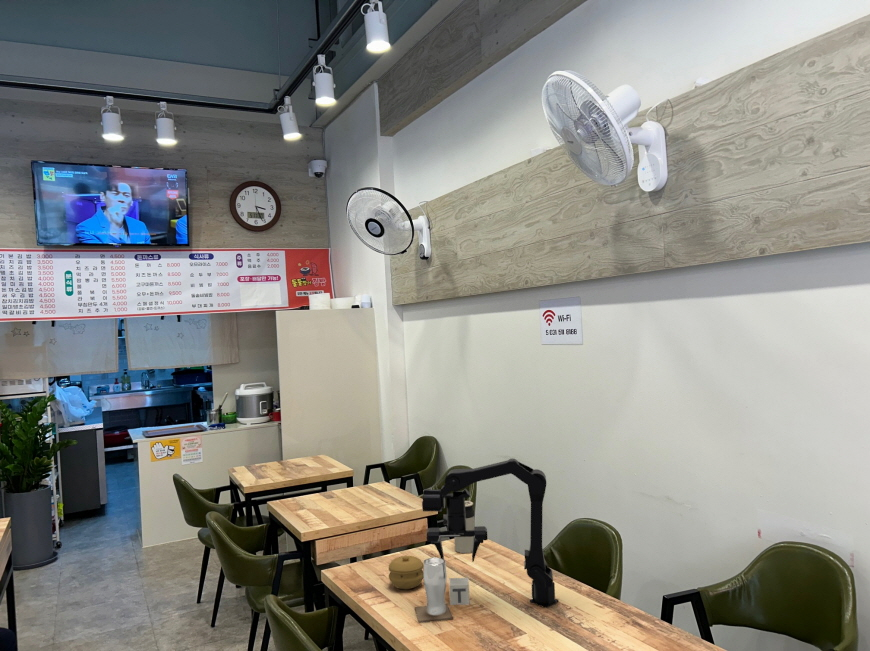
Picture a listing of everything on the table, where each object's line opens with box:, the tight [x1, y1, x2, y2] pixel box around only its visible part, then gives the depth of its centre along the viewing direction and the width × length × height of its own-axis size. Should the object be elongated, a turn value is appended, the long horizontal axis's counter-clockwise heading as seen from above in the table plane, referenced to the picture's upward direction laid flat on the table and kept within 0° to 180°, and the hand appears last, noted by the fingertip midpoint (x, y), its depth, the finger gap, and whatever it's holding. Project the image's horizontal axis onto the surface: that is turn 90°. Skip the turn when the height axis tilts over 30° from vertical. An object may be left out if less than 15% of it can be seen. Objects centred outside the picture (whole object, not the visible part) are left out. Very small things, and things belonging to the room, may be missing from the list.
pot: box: [388, 555, 423, 590], centre depth 215 cm, size 12×12×10 cm
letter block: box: [448, 577, 470, 606], centre depth 201 cm, size 6×6×6 cm
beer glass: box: [422, 557, 448, 616], centre depth 192 cm, size 7×7×15 cm
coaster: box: [414, 603, 454, 624], centre depth 192 cm, size 10×10×1 cm
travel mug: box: [453, 500, 476, 554], centre depth 249 cm, size 8×8×18 cm
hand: (458, 561), depth 201 cm, fingers open, 9 cm apart
